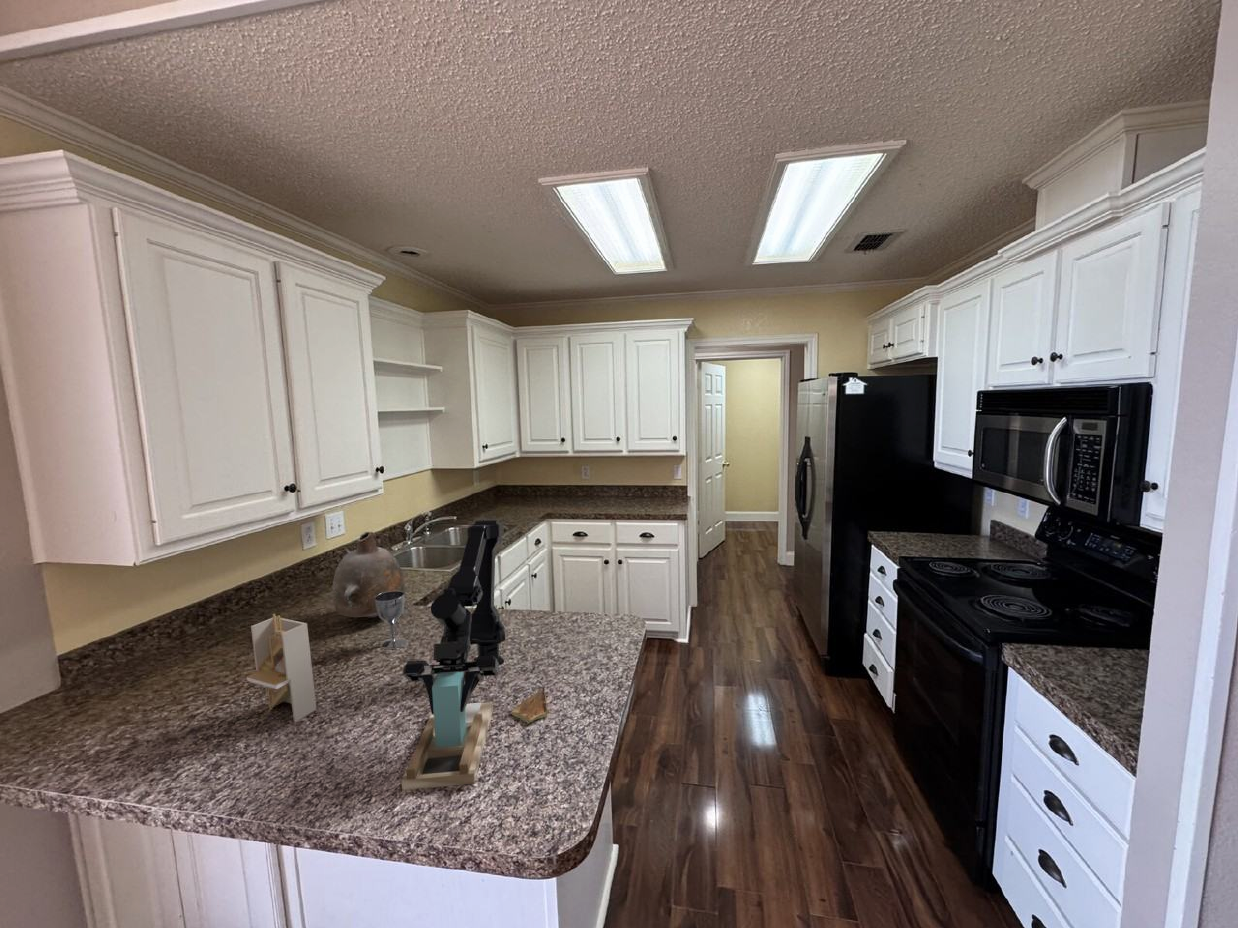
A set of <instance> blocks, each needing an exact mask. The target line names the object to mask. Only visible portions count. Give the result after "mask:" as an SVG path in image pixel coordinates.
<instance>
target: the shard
mask: <svg viewBox="0 0 1238 928" xmlns="http://www.w3.org/2000/svg"><path fill="white" fill-rule="evenodd" d="M546 696H547V695H546V693H545V687H542V689H540V690H538V691H537V692H536V693H535V694H533V695H531V696H530V697H528V698H527V699H525V700H523V701H522V702H521V703H519V704H518V705H517V706H515V708H513V709H512V711H511V715H512V716H513V717H515V718H517V719H519V720H522V721H523V722H525V723H527V724H528V725H529V724H530V723H532V722H533V721H536V720H539V719H544V718H547V717H548V714H549V713H548V707H547V697H546Z"/></svg>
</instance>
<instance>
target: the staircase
mask: <svg viewBox="0 0 1238 928" xmlns="http://www.w3.org/2000/svg"><path fill="white" fill-rule="evenodd" d="M250 630H251V638H252V647H253V656H254V661H255V662H254V663H255V669H256V670H255V672H254V673H251V674H249V675H247V676H246V681H247V682H249V683H250V682H251V683H254V684H256V685H260V686H264V687H267V694H268V695H267V696H268V703H269V704H268V705H269V707H268V708H269V710H270V711H272V710H273V708H275V707H276V706H278V705H279V704H281V703H288V704H290V705H291V707H292V717H293V723H297V722H298V721H300V720H301V719H303V718H305V717H307V716H308V715H310V714H311V713H313V712H314V711H315V710H317V703H316V693H315V686H314V683H315V682H314V676H313V667H312V657H311V649H310V641H309V640H310V639H309V630H308V623H307V622H303V621H296V620H294V619H293V620H292V619H287V618H283V617H281V615H280V614H279V615H276V613H272V617H271V618H268V619H266V620H263V621H261V622H259V623H256V624H253V625H251V626H250ZM275 663H276V664H275ZM276 667H277V670H276Z"/></svg>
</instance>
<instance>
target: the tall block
mask: <svg viewBox="0 0 1238 928" xmlns="http://www.w3.org/2000/svg"><path fill="white" fill-rule="evenodd" d="M435 678H436V680H435V682H434V684H433V686H432V694H433V711H434V727H435V744H436V748H437V747H451V746H461V745H462V742H463V739H464V736H465V732H466V710H465V709H464V712H461V711H460V710H461V700H462V695H463V689H464V684H465V672H453V673H439V674H437V675H436V677H435Z"/></svg>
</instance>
